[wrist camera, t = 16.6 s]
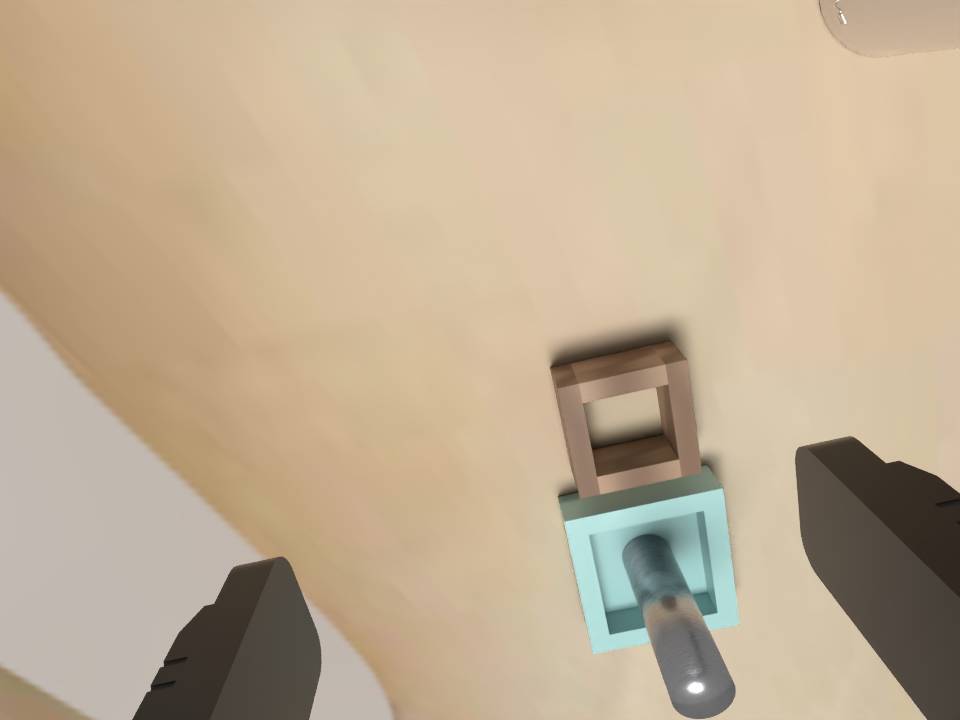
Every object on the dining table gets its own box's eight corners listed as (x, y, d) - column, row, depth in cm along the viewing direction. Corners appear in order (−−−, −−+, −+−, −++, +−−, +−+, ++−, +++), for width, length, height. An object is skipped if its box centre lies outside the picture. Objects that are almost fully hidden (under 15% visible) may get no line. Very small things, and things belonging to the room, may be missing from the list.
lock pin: (667, 529, 55) (732, 664, 41) (673, 569, 56) (738, 712, 43) (618, 539, 55) (667, 676, 42) (625, 579, 56) (675, 724, 43)
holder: (670, 340, 50) (687, 359, 46) (685, 447, 53) (702, 472, 49) (550, 367, 50) (557, 388, 47) (571, 471, 54) (580, 498, 50)
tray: (707, 465, 54) (723, 488, 50) (723, 595, 58) (739, 624, 55) (558, 496, 54) (564, 521, 51) (585, 623, 59) (593, 653, 56)
